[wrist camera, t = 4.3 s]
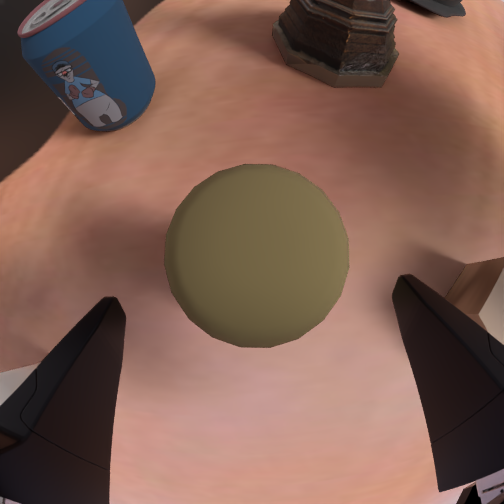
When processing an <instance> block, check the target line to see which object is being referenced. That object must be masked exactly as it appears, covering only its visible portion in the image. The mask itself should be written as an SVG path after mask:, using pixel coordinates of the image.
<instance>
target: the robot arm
mask: <svg viewBox="0 0 504 504" xmlns="http://www.w3.org/2000/svg"><path fill="white" fill-rule="evenodd" d="M392 300H393V304H394V308H395V312H396V316H397V320H398V324H399V328H400V332H401V336H402V340H403V343H404V346H405V349H406V352H407V355H408V358H409V361H410V365H411V368H412V371H413V374H414V378H415V381H416V385H417V388H418V392H419V395H420V399H421V403H422V407H423V411H424V415H425V419H426V423H427V428H428V432H429V437H430V442H431V443H432V444H431V447H432V453H433V458H434V464H435V470H436V476H437V483H438V490H439V492H443V491H446V490H450V489H453V488H456V487H459V486H462V485H465V484H468V483H471V482H473V481H475V482H474V483H473V484H471V485H469V486H468V487H466V488H464V489H463V491H462V493H461V495H460V497H459V499H458V501H457V503H456V504H504V345H503V344H502V343H501V342H500V341H498V340H497V339H496V338H495V337H493V336H492V335H491V334H490V333H489V332H487V331H486V330H485V329H484V328H482V327H481V326H480V325H479V324H477V323H476V322H475V321H474V320H472V319H471V318H470V317H468V316H467V315H466V314H465V313H463V312H462V311H461V310H459V309H458V308H457V307H456V306H454V305H453V304H452V303H450V302H449V301H448V300H446V299H445V298H444V297H442V296H441V295H439V294H438V293H437V292H435V291H434V290H433V289H431V288H430V287H428V286H427V285H426V284H424V283H423V282H421V281H420V280H419V279H417V278H416V277H414V276H413V275H411V274H405V275H400V276H399V277H398V279H397V282H396V285H395V288H394V290H393V293H392ZM125 325H126V315H125V312H124V311H123V309H122V307H121V305H120V303H119V301H118V299H117V298H116V297H114V296H112V297H104V298H102V299H101V300H100V301H99V302H98V303H97V304H96V305H95V306H94V307H93V308H92V309H91V310H90V311H89V312H88V313H87V314H86V315H85V316H84V317H83V318H82V319H81V320H80V321H79V322H78V323H77V324H76V325H75V326H74V327H73V328H72V329H71V330H70V331H69V333H68V334H67V335H66V336H65V337H64V338H63V339H62V340H61V341H60V342H59V343H58V344H57V345H56V346H55V347H54V348H53V349H52V351H51V352H50V353H49V354H48V355H47V356H46V357H45V358H44V359H43V360H42V362H41V363H40V364H39V365H38V366H37V368H35V369H34V370H33V372H32V373H31V374H30V375H29V376H28V377H27V378H26V379H25V381H24V382H23V383H22V384H21V385H20V386H19V387H18V388H17V389H16V390H15V391H14V392H13V393H12V394H11V395H10V396H9V397H8V398H7V399H6V400H5V401H4V402H3V403H2V404H1V405H0V504H109V489H110V461H111V446H112V435H113V425H114V416H115V407H116V400H117V393H118V386H119V379H120V373H121V367H122V360H123V348H124V336H125Z"/></svg>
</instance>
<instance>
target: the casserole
mask: <svg viewBox="0 0 504 504" xmlns="http://www.w3.org/2000/svg"><path fill="white" fill-rule="evenodd" d="M409 1H411V2H413V3H415V4H417V5H419V6H421V7H423V8H425V9H427V10H429V11H431V12H433V13H435V14H437V15H439V16H443V17H450V16H465V14H466V12H465V9H464V7H463V6H462V4H461V3H460V2H461V1H462V0H409Z"/></svg>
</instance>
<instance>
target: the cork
mask: <svg viewBox="0 0 504 504" xmlns="http://www.w3.org/2000/svg"><path fill="white" fill-rule="evenodd" d="M164 265H165V269H166V273H167V277H168V281H169V285H170V288H171V292H172V294H173V295H174V297H175V299H176V300H177V302H178V303H179V305H180V306H181V308H182V309H183V311H184V312H185V314H186V315H187V317H188V318H189V319H190V320H191V321H192V322H193V323H195V324H196V325H197V326H198V327H200V328H201V329H202V330H204V331H205V332H206V333H207V334H209V335H210V336H211V337H213V338H216V339H218V340H221V341H224V342H227V343H230V344H232V345H235V346H238V347H251V348H271V347H274V346H277V345H281V344H284V343H287V342H290V341H293V340H296V339H299V338H300V337H301V336H303V335H304V334H306V333H307V332H308V331H310V330H311V329H312V328H314V327H315V326H317V325H318V324H319V323H321V322H322V321H323V320H324V319H325V317H326V316H327V315H328V313H329V312H330V310H331V309H332V307H333V306H334V305H335V303H336V302H337V300H338V299H339V297H340V296H341V293H342V290H343V287H344V283H345V280H346V277H347V273H348V270H349V244H348V236H347V234H346V231H345V228H344V225H343V222H342V219H341V217H340V214H339V212H338V210H337V209H336V208H335V206H334V205H333V204H332V202H331V201H330V200H329V198H328V197H327V196H326V194H325V193H324V192H323V191H322V189H320V188H319V187H318V186H316V185H315V184H313V183H312V182H311V181H309V180H308V179H306V178H305V177H303V176H302V175H301V174H299V173H296V172H293V171H290V170H287V169H284V168H281V167H278V166H275V165H268V164H243V165H239V166H236V167H232V168H229V169H225V170H222V171H219V172H217V173H215V174H213V175H212V176H210V177H209V178H207V179H206V180H204V181H203V182H201V183H200V184H198V185H197V186H195V187H194V188H193V189H192V190H191V192H190V193H189V194H188V195H187V197H186V198H185V199H184V200H183V201H182V203H181V204H180V205H179V206H178V208H177V209H176V211H175V214H174V216H173V219H172V221H171V224H170V226H169V229H168V231H167V234H166V242H165V258H164Z"/></svg>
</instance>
